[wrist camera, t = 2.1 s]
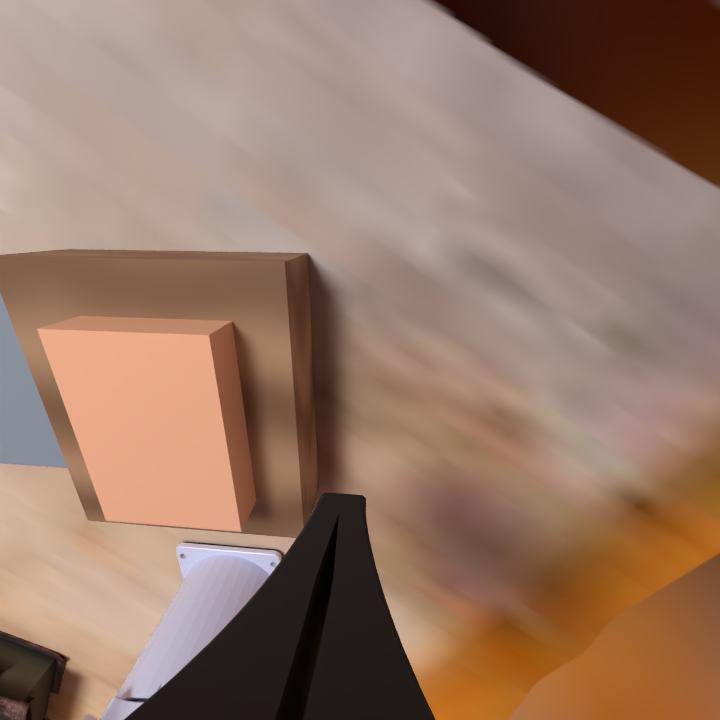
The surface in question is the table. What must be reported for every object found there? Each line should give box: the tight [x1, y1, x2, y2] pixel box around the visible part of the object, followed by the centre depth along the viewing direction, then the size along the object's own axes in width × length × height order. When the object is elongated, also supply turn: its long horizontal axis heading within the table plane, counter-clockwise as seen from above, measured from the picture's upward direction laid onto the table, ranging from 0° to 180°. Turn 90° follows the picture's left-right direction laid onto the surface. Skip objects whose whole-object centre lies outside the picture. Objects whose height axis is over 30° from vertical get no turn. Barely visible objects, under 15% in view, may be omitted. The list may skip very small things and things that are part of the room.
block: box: [37, 316, 256, 532], centre depth 16 cm, size 10×7×2 cm
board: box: [0, 249, 319, 538], centre depth 19 cm, size 15×13×4 cm
